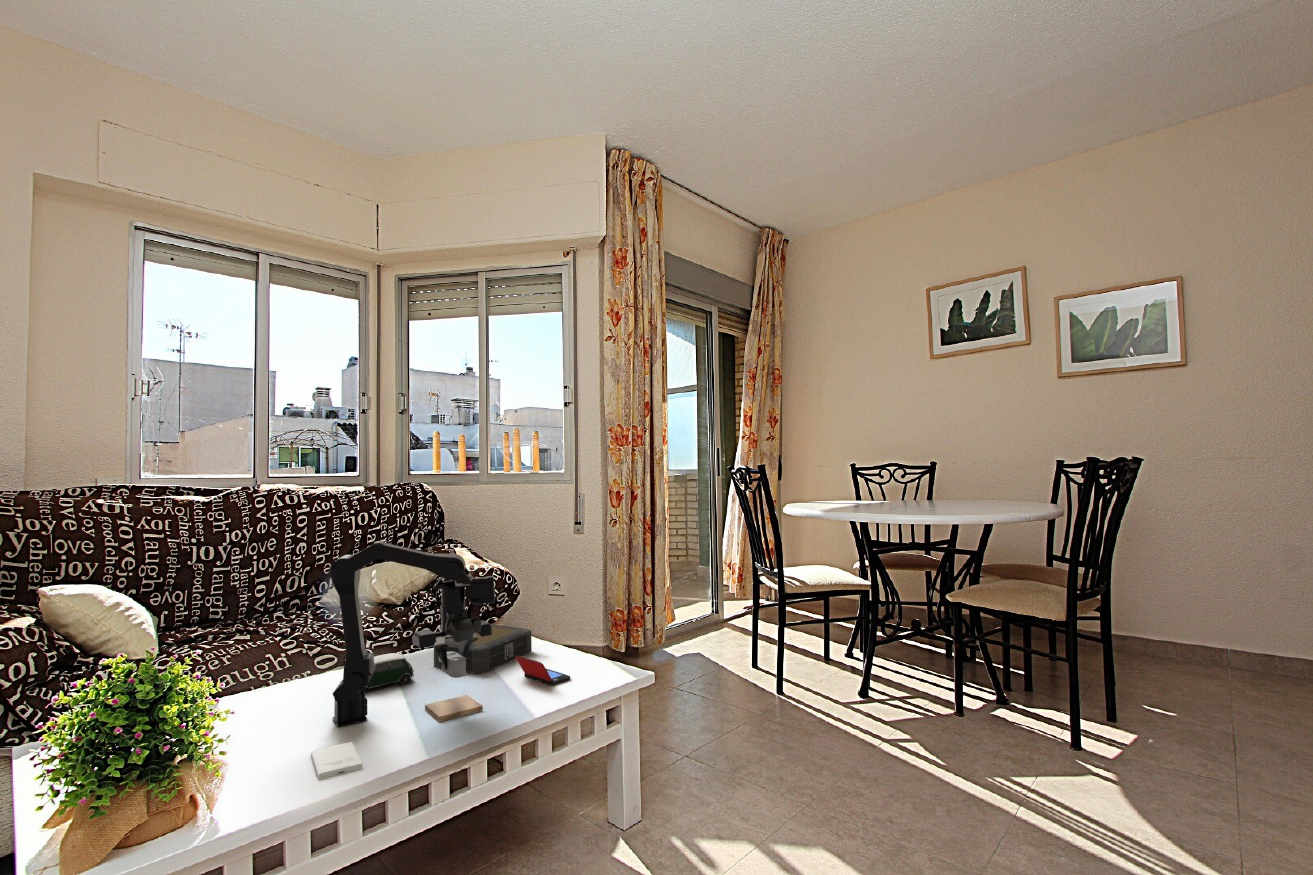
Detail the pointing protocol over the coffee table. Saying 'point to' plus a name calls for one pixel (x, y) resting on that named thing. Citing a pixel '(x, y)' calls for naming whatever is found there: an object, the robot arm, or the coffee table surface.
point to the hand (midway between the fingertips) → (453, 667)
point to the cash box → (492, 648)
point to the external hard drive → (336, 760)
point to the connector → (455, 665)
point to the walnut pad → (453, 708)
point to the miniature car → (390, 670)
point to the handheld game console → (540, 672)
